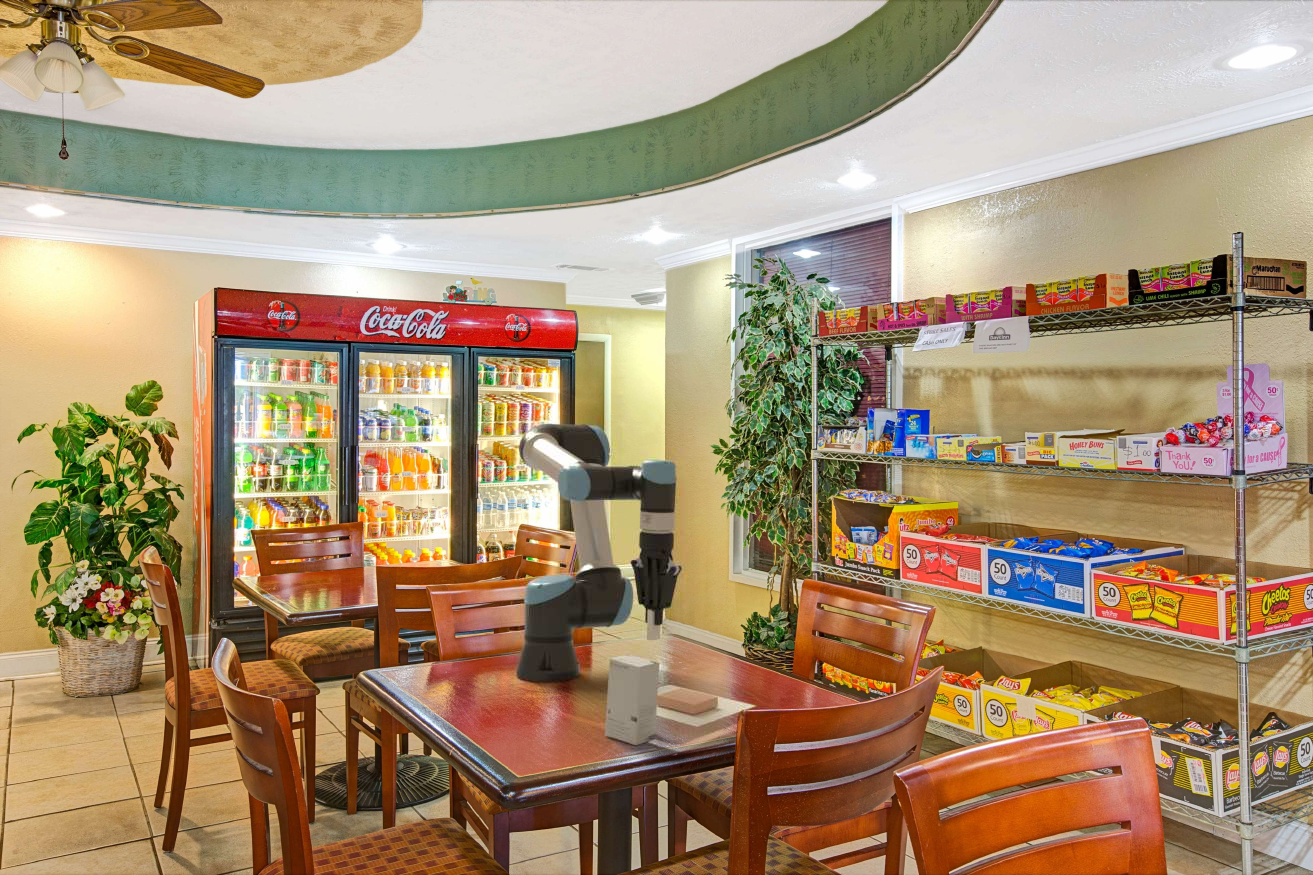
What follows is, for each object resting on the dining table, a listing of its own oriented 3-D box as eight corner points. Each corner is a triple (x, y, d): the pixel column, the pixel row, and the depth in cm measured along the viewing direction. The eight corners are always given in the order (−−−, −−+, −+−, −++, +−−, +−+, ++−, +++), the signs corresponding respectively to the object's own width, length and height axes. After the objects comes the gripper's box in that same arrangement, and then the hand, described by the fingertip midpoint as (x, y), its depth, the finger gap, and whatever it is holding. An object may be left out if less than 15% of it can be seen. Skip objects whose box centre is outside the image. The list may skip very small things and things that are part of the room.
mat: (608, 706, 189) (608, 701, 189) (669, 688, 204) (669, 684, 204) (697, 731, 173) (697, 726, 173) (756, 710, 188) (756, 705, 188)
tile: (656, 694, 187) (693, 704, 180) (680, 687, 193) (717, 696, 186) (656, 705, 187) (693, 715, 180) (680, 698, 193) (717, 707, 186)
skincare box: (604, 736, 169) (605, 657, 169) (625, 729, 174) (627, 652, 174) (637, 746, 164) (639, 665, 164) (658, 738, 168) (660, 659, 168)
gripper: (623, 529, 195) (619, 636, 196) (668, 535, 187) (664, 647, 187) (646, 526, 201) (642, 631, 201) (690, 532, 192) (687, 641, 193)
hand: (653, 638), depth 194 cm, fingers closed
